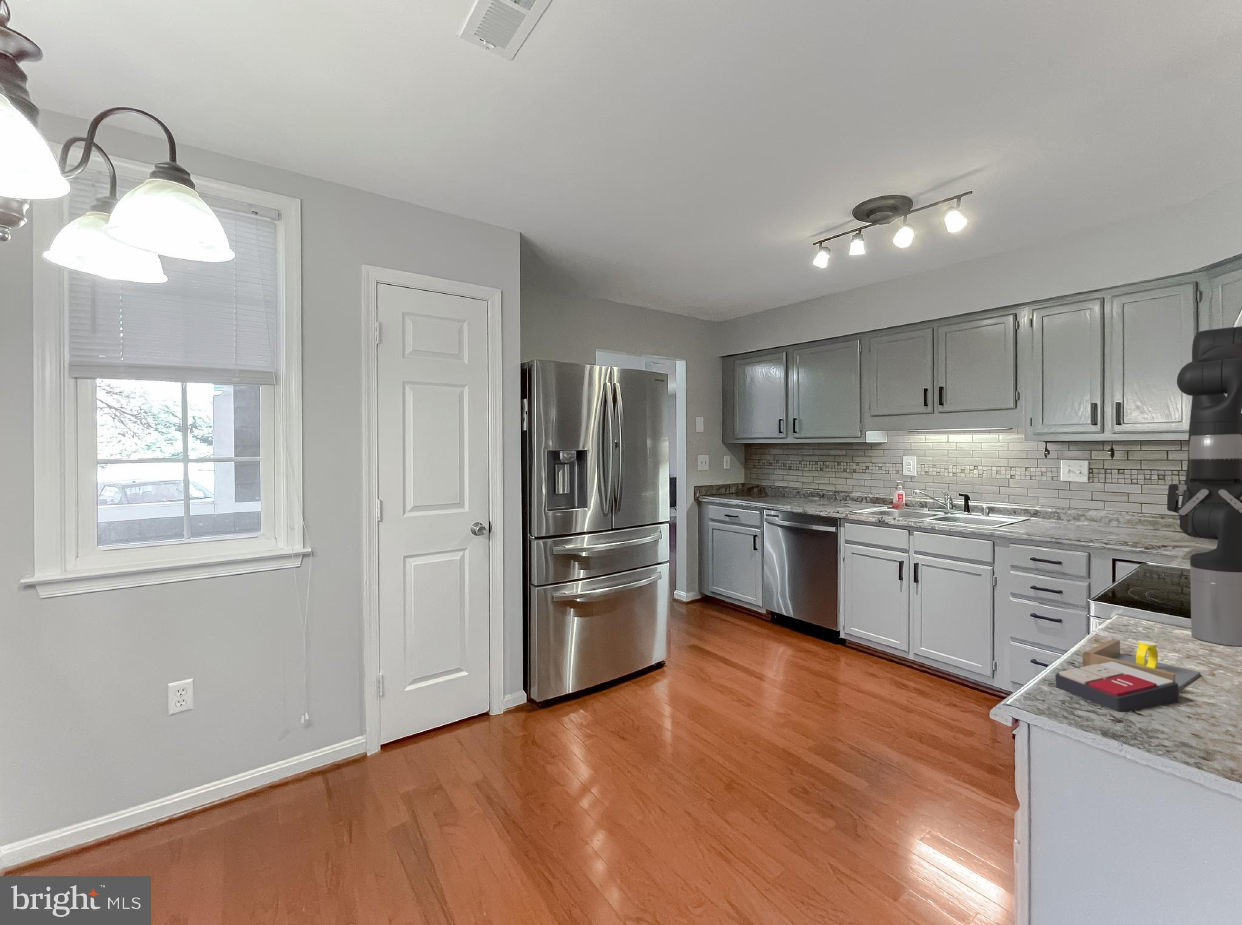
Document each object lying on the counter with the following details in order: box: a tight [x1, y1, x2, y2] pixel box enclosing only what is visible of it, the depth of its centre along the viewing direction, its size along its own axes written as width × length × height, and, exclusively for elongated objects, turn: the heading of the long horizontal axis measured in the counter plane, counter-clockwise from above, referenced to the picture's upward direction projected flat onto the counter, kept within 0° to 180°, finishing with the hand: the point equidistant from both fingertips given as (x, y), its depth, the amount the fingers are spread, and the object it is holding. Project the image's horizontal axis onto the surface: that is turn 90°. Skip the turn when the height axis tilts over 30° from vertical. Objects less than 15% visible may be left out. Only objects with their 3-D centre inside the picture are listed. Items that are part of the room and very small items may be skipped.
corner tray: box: [1082, 638, 1201, 691], centre depth 110 cm, size 16×14×4 cm
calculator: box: [1054, 662, 1180, 713], centre depth 101 cm, size 11×4×15 cm
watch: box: [1135, 640, 1159, 669], centre depth 109 cm, size 6×3×6 cm, turn 116°
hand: (1217, 534), depth 110 cm, fingers open, 8 cm apart
